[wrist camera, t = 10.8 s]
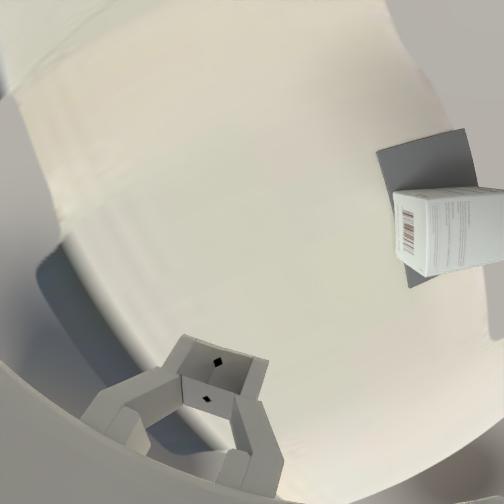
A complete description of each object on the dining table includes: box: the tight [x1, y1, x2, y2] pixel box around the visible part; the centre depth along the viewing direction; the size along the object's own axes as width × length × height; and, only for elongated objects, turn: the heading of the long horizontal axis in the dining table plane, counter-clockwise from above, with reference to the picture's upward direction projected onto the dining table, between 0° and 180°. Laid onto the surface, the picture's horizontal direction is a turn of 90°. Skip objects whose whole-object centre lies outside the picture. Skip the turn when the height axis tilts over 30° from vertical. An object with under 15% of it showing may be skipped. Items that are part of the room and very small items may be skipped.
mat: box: [376, 129, 478, 288], centre depth 29 cm, size 16×13×1 cm
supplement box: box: [393, 186, 504, 277], centre depth 26 cm, size 7×7×13 cm
